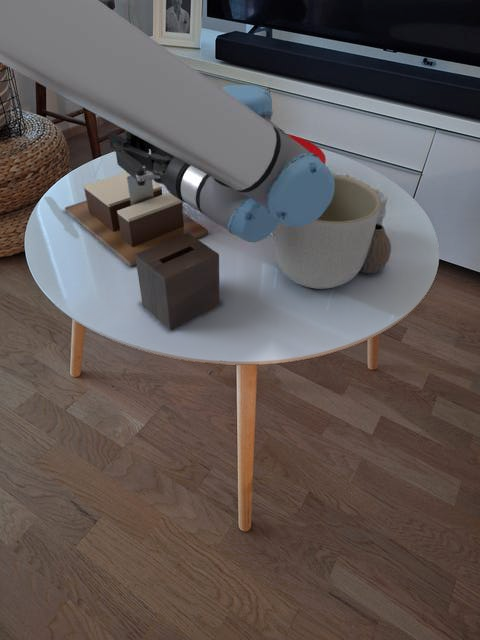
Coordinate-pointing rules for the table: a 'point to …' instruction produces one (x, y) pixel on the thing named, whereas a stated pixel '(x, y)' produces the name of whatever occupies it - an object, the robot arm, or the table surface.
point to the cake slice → (150, 219)
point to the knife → (135, 191)
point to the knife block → (178, 279)
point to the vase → (377, 251)
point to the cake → (111, 198)
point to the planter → (330, 238)
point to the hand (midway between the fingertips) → (119, 137)
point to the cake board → (114, 238)
